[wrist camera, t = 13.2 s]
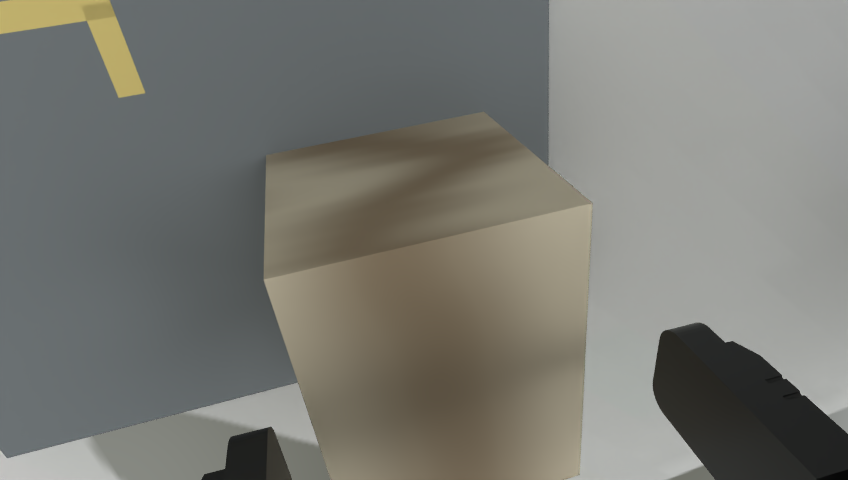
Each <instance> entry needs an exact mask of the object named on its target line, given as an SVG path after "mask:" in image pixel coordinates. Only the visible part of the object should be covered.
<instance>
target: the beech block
mask: <svg viewBox="0 0 848 480" xmlns="http://www.w3.org/2000/svg"><path fill="white" fill-rule="evenodd" d="M592 205H593V203H592V202H591V201H589V200H588V199H587V198H586V197H585V196H583V195H582V194H581V193H580V192H579V191H577V190H576V189H575V188H574V187H573V186H572V185H570V184H569V183H568V182H567V181H566V180H564V179H563V178H562V177H561V176H560V175H558V174H557V173H556V172H555V171H554V170H553V169H551V168H550V167H549V166H548V165H547V164H545V163H544V162H543V161H542V160H541V159H539V158H538V157H537V156H536V155H535V154H534V153H532V152H531V151H530V150H529V149H528V148H526V147H525V146H524V145H523V144H522V143H520V142H519V141H518V140H517V139H516V138H515V137H513V136H512V135H511V134H510V133H509V132H507V131H506V130H505V129H504V128H503V127H501V126H500V125H499V124H498V123H497V122H496V121H494V120H493V119H492V118H491V117H490V116H488V115H487V114H486V113H485V112H480V113H475V114H470V115H465V116H460V117H455V118H450V119H445V120H440V121H435V122H430V123H425V124H420V125H415V126H410V127H405V128H400V129H395V130H390V131H385V132H380V133H375V134H370V135H365V136H360V137H355V138H350V139H345V140H340V141H335V142H330V143H325V144H319V145H314V146H309V147H304V148H299V149H294V150H289V151H284V152H279V153H274V154H269V155H266V187H265V234H264V283H265V286H266V289H267V292H268V295H269V298H270V301H271V304H272V307H273V310H274V312H275V315H276V318H277V321H278V324H279V327H280V330H281V333H282V336H283V339H284V342H285V345H286V348H287V351H288V354H289V357H290V360H291V363H292V366H293V369H294V372H295V375H296V378H297V381H298V384H299V387H300V390H301V393H302V396H303V399H304V402H305V405H306V408H307V411H308V414H309V417H310V420H311V423H312V426H313V428H314V431H315V434H316V437H317V440H318V443H319V446H320V449H321V452H322V455H323V458H324V461H325V464H326V467H327V470H328V473H329V476H330V479H331V480H564V479H568V478H571V477H574V476H577V475H580V454H581V433H582V412H583V392H584V371H585V350H586V329H587V309H588V288H589V267H590V246H591V226H592Z"/></svg>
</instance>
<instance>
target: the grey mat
mask: <svg viewBox="0 0 848 480" xmlns="http://www.w3.org/2000/svg"><path fill="white" fill-rule="evenodd" d="M548 77H549V0H0V450H1V451H2V452H3V454H4V455H5V456H6V457H7V458H10V457H13V456H17V455H21V454H25V453H29V452H33V451H37V450H40V449H44V448H48V447H52V446H56V445H60V444H63V443H67V442H71V441H75V440H79V439H83V438H86V437H90V436H94V435H98V434H102V433H106V432H109V431H113V430H117V429H121V428H125V427H129V426H132V425H136V424H140V423H144V422H148V421H152V420H155V419H159V418H163V417H167V416H171V415H175V414H178V413H182V412H186V411H190V410H194V409H198V408H201V407H205V406H209V405H213V404H217V403H221V402H224V401H228V400H232V399H236V398H240V397H244V396H247V395H251V394H255V393H259V392H263V391H267V390H271V389H274V388H278V387H282V386H286V385H290V384H294V383H297V382H298V381H297V378H296V375H295V372H294V369H293V366H292V363H291V360H290V357H289V354H288V351H287V348H286V345H285V342H284V339H283V336H282V333H281V330H280V327H279V324H278V321H277V318H276V315H275V312H274V310H273V307H272V304H271V301H270V298H269V295H268V292H267V289H266V286H265V283H264V234H265V187H266V155H269V154H274V153H279V152H284V151H289V150H294V149H299V148H304V147H309V146H314V145H319V144H325V143H330V142H335V141H340V140H345V139H350V138H355V137H360V136H365V135H370V134H375V133H380V132H385V131H390V130H395V129H400V128H405V127H410V126H415V125H420V124H425V123H430V122H435V121H440V120H445V119H450V118H455V117H460V116H465V115H470V114H475V113H480V112H485V113H486V114H487V115H488V116H490V117H491V118H492V119H493V120H494V121H496V122H497V123H498V124H499V125H500V126H501V127H503V128H504V129H505V130H506V131H507V132H509V133H510V134H511V135H512V136H513V137H515V138H516V139H517V140H518V141H519V142H520V143H522V144H523V145H524V146H525V147H526V148H528V149H529V150H530V151H531V152H532V153H534V154H535V155H536V156H537V157H538V158H539V159H541V160H542V161H543V162H544V163H545V164H547V165H548Z"/></svg>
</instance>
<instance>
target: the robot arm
mask: <svg viewBox="0 0 848 480" xmlns="http://www.w3.org/2000/svg"><path fill="white" fill-rule="evenodd" d="M653 391H654V395H655V398H656V401H657V403H658V405H659V407H660V409H661V411H662V412H663V413H664V415H665V416H666V417H667V419H668V420H669V421H670V422H671V424H672V425H673V426H674V428H675V429H676V430H677V431H678V433H679V434H680V435H681V436H682V438H683V439H684V440H685V442H686V443H687V444H688V445H689V447H690V448H691V449H692V450H693V452H694V453H695V454H696V456H697V457H698V458H699V459H700V461H701V462H702V463H703V464H704V466H705V467H706V468H707V470H708V471H709V472H710V473H711V475H712V476H713V477H714V479H715V480H848V434H847V433H846V432H845V431H844V430H843V429H842V428H841V427H839V426H838V425H837V424H836V423H835V422H834V421H833V420H831V419H830V418H829V417H828V416H827V415H826V414H825V413H824V412H823V411H821V410H820V409H819V408H818V407H817V406H816V405H815V404H814V403H813V402H811V401H810V400H809V399H808V398H807V397H806V396H805V395H804V396H802V395H801V394H800V391H799V390H798V389H797V388H796V387H795V386H794V385H792V384H791V383H790V382H789V381H788V380H787V379H783V378H782V375H781V374H780V373H779V372H778V371H777V370H776V369H775V368H773V367H772V366H771V365H770V364H769V363H768V362H767V361H766V360H764V359H763V358H762V357H761V356H760V355H758V354H756V353H754V352H752V351H750V350H748V349H747V348H745V347H743V346H741V345H739V344H737V343H735V342H733V341H731V342H727V343H725V342H724V341H723V340H722V339H721V338H720V337H719V336H718V335H716V334H715V333H714V332H713V331H712V330H711V329H710V328H709V327H708V326H706V325H705V324H702V323H694V324H690V325H686V326H682V327H678V328H674V329H670V330H666V331H664V332H663V333H662V334H661V336H660V340H659V346H658V353H657V359H656V365H655V372H654V378H653ZM202 480H292V478H291V475H290V472H289V470H288V467H287V464H286V462H285V459H284V456H283V454H282V451H281V448H280V446H279V443H278V440H277V438H276V435H275V432H274V430H273V429H272V427H268V428H264V429H260V430H256V431H252V432H249V433H244V434H241V435H237V436H232V437H231V438H230V439H229V443H228V450H227V458H226V468H225V469H224V470H220V471H216V472H212V473H208V474H204V476H203V478H202Z"/></svg>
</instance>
